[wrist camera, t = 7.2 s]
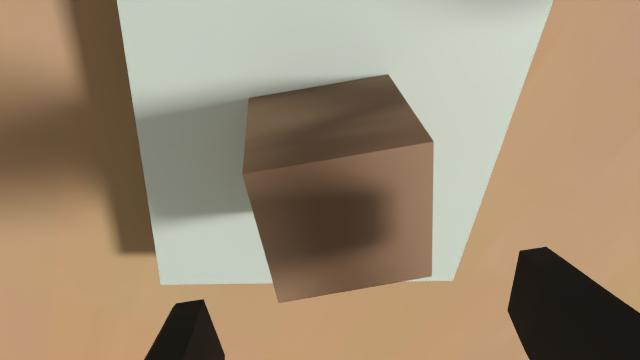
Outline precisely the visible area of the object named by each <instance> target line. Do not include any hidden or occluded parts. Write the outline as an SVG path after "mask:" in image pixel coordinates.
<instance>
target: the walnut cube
mask: <svg viewBox="0 0 640 360" xmlns="http://www.w3.org/2000/svg"><path fill="white" fill-rule="evenodd" d="M433 158H434V141H433V140H432V138H431V137H430V135H429V134H428V132H427V131H426V129H425V128H424V126H423V125H422V123H421V122H420V121H419V119H418V118H417V116H416V115H415V113H414V112H413V110H412V109H411V107H410V106H409V104H408V103H407V101H406V100H405V98H404V97H403V95H402V94H401V92H400V91H399V89H398V88H397V86H396V85H395V83H394V82H393V80H392V79H391V77H390V76H389V74H387V75H382V76H376V77H370V78H364V79H358V80H352V81H346V82H340V83H334V84H328V85H322V86H317V87H311V88H305V89H299V90H293V91H287V92H281V93H275V94H269V95H263V96H257V97H251V98H249V100H248V112H247V124H246V136H245V148H244V160H243V172H242V175H243V179H244V182H245V186H246V189H247V193H248V196H249V200H250V203H251V207H252V210H253V214H254V218H255V221H256V225H257V228H258V232H259V235H260V239H261V242H262V246H263V249H264V253H265V256H266V260H267V263H268V267H269V270H270V274H271V277H272V281H273V284H274V288H275V292H276V295H277V299H278V302H279V303H282V302H288V301H293V300H299V299H305V298H311V297H316V296H322V295H328V294H334V293H339V292H345V291H351V290H356V289H362V288H368V287H374V286H379V285H385V284H391V283H397V282H402V281H408V280H414V279H420V278H425V277H431V276H432V231H433Z"/></svg>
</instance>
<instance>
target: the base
mask: <svg viewBox="0 0 640 360" xmlns="http://www.w3.org/2000/svg"><path fill="white" fill-rule="evenodd" d="M552 3H553V0H117V5H118V11H119V18H120V24H121V31H122V37H123V44H124V50H125V57H126V63H127V69H128V76H129V82H130V89H131V95H132V102H133V108H134V115H135V121H136V128H137V134H138V140H139V147H140V153H141V160H142V166H143V173H144V179H145V186H146V192H147V199H148V205H149V211H150V218H151V224H152V231H153V237H154V244H155V250H156V257H157V263H158V270H159V276H160V282H161V285H177V284H249V283H273V281H272V277H271V274H270V270H269V267H268V263H267V260H266V256H265V253H264V249H263V246H262V242H261V239H260V235H259V232H258V228H257V225H256V221H255V218H254V214H253V210H252V207H251V203H250V200H249V196H248V193H247V189H246V186H245V182H244V179H243V175H242V172H243V160H244V148H245V136H246V124H247V112H248V100H249V98H251V97H257V96H263V95H269V94H275V93H281V92H287V91H293V90H299V89H305V88H311V87H317V86H322V85H328V84H334V83H340V82H346V81H352V80H358V79H364V78H370V77H376V76H382V75H387V74H389V76H390V77H391V79H392V80H393V82H394V83H395V85H396V86H397V88H398V89H399V91H400V92H401V94H402V95H403V97H404V98H405V100H406V101H407V103H408V104H409V106H410V107H411V109H412V110H413V112H414V113H415V115H416V116H417V118H418V119H419V121H420V122H421V123H422V125H423V126H424V128H425V129H426V131H427V132H428V134H429V135H430V137H431V138H432V140H433V141H434V158H433V231H432V276H431V277H425V278H420V279H414V280H408V281H453V279H454V276H455V273H456V270H457V268H458V265H459V262H460V259H461V257H462V254H463V251H464V248H465V245H466V243H467V240H468V237H469V234H470V231H471V229H472V226H473V223H474V220H475V218H476V215H477V212H478V209H479V206H480V204H481V201H482V198H483V195H484V192H485V190H486V187H487V184H488V181H489V179H490V176H491V173H492V170H493V167H494V165H495V162H496V159H497V156H498V153H499V151H500V148H501V145H502V142H503V140H504V137H505V134H506V131H507V128H508V126H509V123H510V120H511V117H512V114H513V112H514V109H515V106H516V103H517V101H518V98H519V95H520V92H521V89H522V87H523V84H524V81H525V78H526V75H527V73H528V70H529V67H530V64H531V62H532V59H533V56H534V53H535V50H536V48H537V45H538V42H539V39H540V36H541V34H542V31H543V28H544V25H545V23H546V20H547V17H548V14H549V11H550V9H551V6H552Z"/></svg>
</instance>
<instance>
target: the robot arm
mask: <svg viewBox="0 0 640 360" xmlns="http://www.w3.org/2000/svg"><path fill="white" fill-rule="evenodd" d="M508 313H509V315H510V317H511V320H512V322H513V325H514V327H515V329H516V332H517V334H518V336H519V338H520V341H521V343H522V345H523V347H524V350H525V352H526V354H527V355H528V357H529V359H530V360H640V313H639V312H637V311H636V310H634V309H633V308H632V307H630V306H629V305H627V304H626V303H624V302H623V301H621V300H620V299H619V298H617V297H616V296H614V295H613V294H611V293H610V292H609V291H607V290H606V289H604V288H603V287H602V286H600V285H599V284H597V283H596V282H595V281H593V280H592V279H590V278H589V277H588V276H586V275H585V274H584V273H582V272H581V271H579V270H578V269H577V268H575V267H574V266H572V265H571V264H570V263H568V262H567V261H566V260H564V259H563V258H561V257H560V256H558V255H557V254H556V253H554V252H553V251H551V250H550V249H548V248H547V247H542V248H535V249H529V250H522V251H520V252H519V257H518V262H517V267H516V272H515V276H514V281H513V286H512V291H511V296H510V301H509V306H508ZM144 360H225V354H224V352H223V349H222V347H221V344H220V341H219V339H218V336H217V334H216V331H215V328H214V326H213V323H212V320H211V318H210V315H209V313H208V310H207V307H206V305H205V302H204V300H203V299H202V300H196V301H189V302H183V303H176V304H175V306H174V307H173V308H172V310H171V312H170V314H169V316H168V317H167V319H166V321H165V323H164V325H163V327H162V329H161V330H160V332H159V334H158V336H157V338H156V340H155V341H154V343H153V345H152V347H151V349H150V350H149V352H148V354H147V356H146V357H145V359H144Z"/></svg>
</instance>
